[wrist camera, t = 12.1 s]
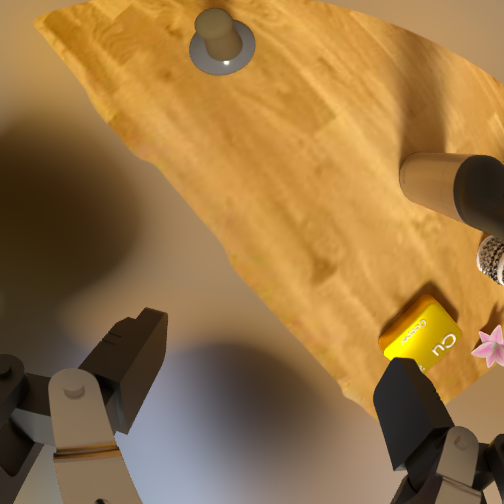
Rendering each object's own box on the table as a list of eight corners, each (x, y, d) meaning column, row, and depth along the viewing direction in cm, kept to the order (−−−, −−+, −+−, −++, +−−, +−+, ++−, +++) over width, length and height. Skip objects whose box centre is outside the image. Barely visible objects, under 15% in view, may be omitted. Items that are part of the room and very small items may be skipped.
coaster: (261, 24, 38) (261, 23, 38) (247, 79, 42) (247, 78, 41) (198, 19, 38) (197, 17, 38) (183, 72, 42) (182, 71, 41)
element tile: (425, 288, 51) (436, 299, 46) (456, 325, 53) (466, 336, 48) (373, 341, 55) (379, 354, 50) (410, 370, 57) (416, 383, 53)
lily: (491, 306, 51) (495, 331, 44) (520, 325, 48) (525, 351, 41) (464, 338, 59) (464, 364, 52) (492, 355, 55) (493, 381, 48)
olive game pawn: (216, 27, 38) (201, -2, 28) (248, 37, 39) (241, 8, 28) (200, 55, 40) (181, 31, 30) (233, 66, 41) (221, 42, 30)
